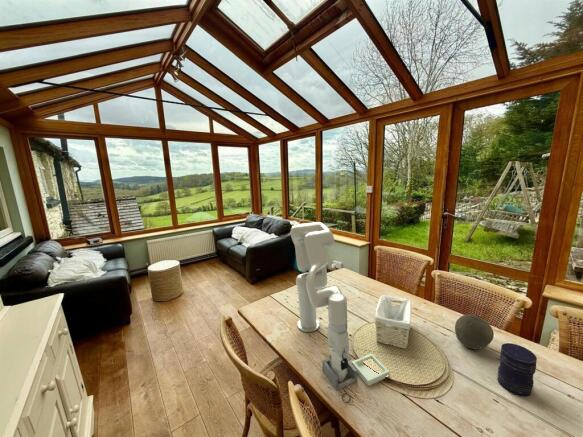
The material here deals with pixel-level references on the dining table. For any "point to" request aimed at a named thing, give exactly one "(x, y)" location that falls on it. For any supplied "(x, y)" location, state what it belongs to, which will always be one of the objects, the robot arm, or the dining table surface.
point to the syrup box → (337, 365)
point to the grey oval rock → (473, 331)
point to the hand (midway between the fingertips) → (338, 361)
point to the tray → (370, 370)
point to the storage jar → (516, 369)
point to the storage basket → (393, 321)
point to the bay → (333, 377)
